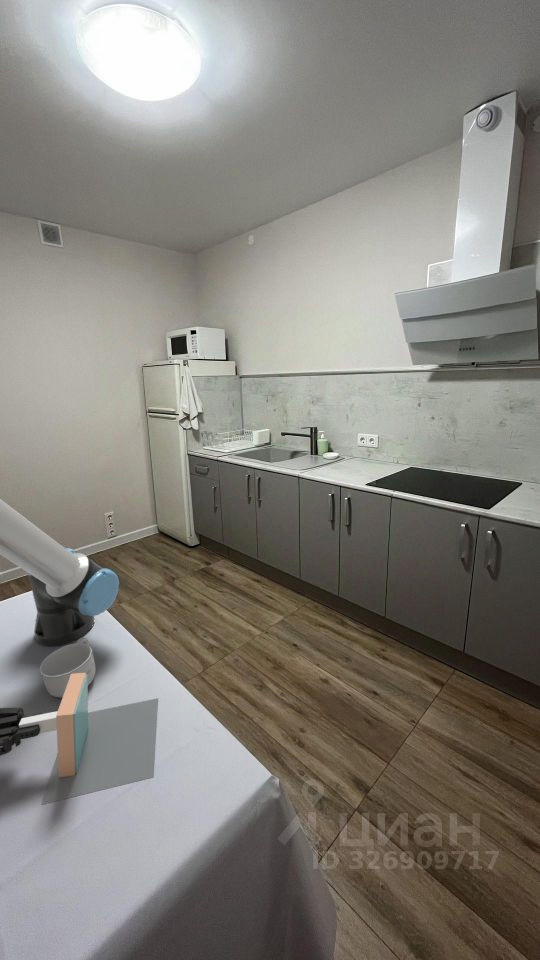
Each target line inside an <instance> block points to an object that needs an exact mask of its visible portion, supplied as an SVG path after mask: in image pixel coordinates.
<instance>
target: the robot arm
mask: <svg viewBox="0 0 540 960" xmlns="http://www.w3.org/2000/svg"><path fill="white" fill-rule="evenodd" d="M0 556H2V557H3V558H5V559H6V560H8V561H10V562H11V563H13V564H15V565H16V566H17V567H19V568H20V569H22V570H23V571H25V572H26V573H27V577H28V579H29V582H30V583H29V584H30V587H31V591H32V596H33V599H34V603H35V609H36V616H35V622H34V623H35V624H34V633H33V634H34V637H35V641H36V642H37V643H38V644H39V645H42V646H47V647H51V646H61V645H65V644H68V643H71V642H74V641H75V640H79V639H80V638H82V637H84V635H86V634H87V633H88V632H89V631H90V630H91V629H92V628H93V627H92V625H93V623H94V624H95V622H94V620H95V617H96V616H100V615H101V614H102V613H104V612H106V611H107V610H108V609H109V608H110V607H111V606H112V605H113V603H114V602H115V600H116V597H117V595H118V592H119V586H120V581H119V577H118V575H117V574H116V573H115V572H114V571H113V570H111V569H110V568H108V567H107V568H103V567H102V566H100V565H99V564H97V563H96V562H94V561H93V560H92V559H90V558H89V557H88V556H87V555H86V554H84V553H81V552H75V551H74V549H72V548H69V547H68V548H67V547H64V546H63V545H61V544H60V543H58V542H57V541H56V540H55V539H54V538H52V536H49V535H48V534H47V533H46V532H44V531H43V530H41V529H40V528H39V527H38V526H37V525H35V524H34V523H33V522H31V521H30V520H28V519H27V518H26V517H24V516H23V514H21V513H19V511H17V510H16V509H14V508H13V507H12V506H11V505H9V504H7V503H6V502H5V501H4V500H2V499H1V498H0ZM93 626H94V625H93ZM91 627H92V628H91ZM90 628H91V629H90ZM89 629H90V630H89ZM88 630H89V631H88ZM87 631H88V632H87ZM86 632H87V633H86ZM85 633H86V634H85ZM57 712H58V710H57V711H52V712H47V713H46V712H45V713H43V712H39V713H35V714H29V715H25V712H24V708H23V707H0V757H1V756H4V755H6V754H9V753H10V752H11V751H12V750H13V746H14V745H15V747H18V746H20V745H21V743H22V740H26V739H31V738H35V737H38V736H39V735H40V734H45V733H50V732H56V731H57V724H56V715H57Z"/></svg>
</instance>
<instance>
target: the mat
mask: <svg viewBox="0 0 540 960" xmlns="http://www.w3.org/2000/svg"><path fill="white" fill-rule="evenodd" d="M158 707H159V697H158V698H157V697H156V698H153V699H148V700H143V701H142V700H141V701H139V702H133V703H128V704H123V705H119V706H115V707H110V708H105V709H101V710H100V709H99V710H95V711H90V712H89V711H88V731H87V735H86V739H85V743H84V747H83V751H82V755H81V759H80V763H79V767H78V771H77V773H75V775H73V776H65V777H59V770H58V752H57V753H56V757H55V759H54V763H53V767H52V769H51V773H50V776H49V780H48V782H47V785H46V788H45V792H44V795H43V798H42V801H41V806H42V805H47V804H50V803H55V802H59V801H63V800H67V799H71V798H77V797H80V796H83V795H87V794H92V793H96V792H99V791H103V790H108V789H111V788H116V787H120V786H124V785H128V784H131V783H136V782H140V781H145V780H148V779H153V778H154V777H155V776H154V775H155V761H156V741H157V725H158V710H159V708H158Z"/></svg>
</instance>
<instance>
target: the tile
mask: <svg viewBox="0 0 540 960" xmlns="http://www.w3.org/2000/svg"><path fill="white" fill-rule="evenodd" d="M88 686H89V685H87V674H86V673H74V674H71V676H70V678H69V681H68V684H67V687H66V690H65V692H64V695H63V698H61V701H60V704H59V707H58V709H57V711H58V712H57V715H56V724H57V730H56V741H57V743H56V744H57V753H58V770H59V777H65V776H73V775H75V773H77V771H78V767H79V763H80V759H81V755H82V751H83V747H84V743H85V739H86V735H87V731H88V713H89V699H88V696H89V695H88V692H89V691H88V689H89V688H88Z"/></svg>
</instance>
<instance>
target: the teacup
mask: <svg viewBox="0 0 540 960" xmlns="http://www.w3.org/2000/svg"><path fill="white" fill-rule="evenodd" d="M39 665H40V666H39V673H40V675H41V678H42V680H43V683H44V687H45V688H46V690H47V692H48V693H49V694H50V695H51V696H52V697H55V698H60V699H62V698H63V695H64V692H65V690H66V687H67V684H68V681H69V678H70V676H71V674H74V673H86V674H87V685H88V686H89V685H90V684H91V683H92V681H93V680H94V678H95V675H96V663H95V657H94V654H93V649H92V647H91V646H90V644H89V639H88V638H86V637H80V638H78V639H77V642H76V643H70V644H67V645H63V646H62V647H60V648H57V649H55V650H53V651H52V652H51V653H50V654H48V655H47V656H46V657H45V658H44V659H43V660H42V661H41V663H40V664H39Z"/></svg>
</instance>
